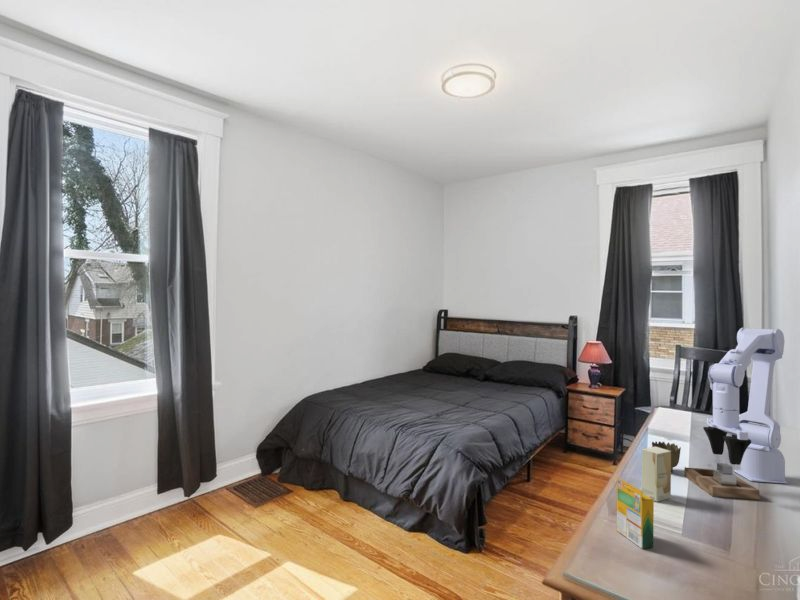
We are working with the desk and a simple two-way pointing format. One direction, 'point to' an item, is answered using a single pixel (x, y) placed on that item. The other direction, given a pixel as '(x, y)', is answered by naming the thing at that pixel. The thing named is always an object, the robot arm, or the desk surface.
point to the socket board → (713, 488)
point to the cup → (674, 452)
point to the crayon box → (634, 514)
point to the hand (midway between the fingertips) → (726, 458)
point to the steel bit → (724, 475)
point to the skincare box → (656, 473)
